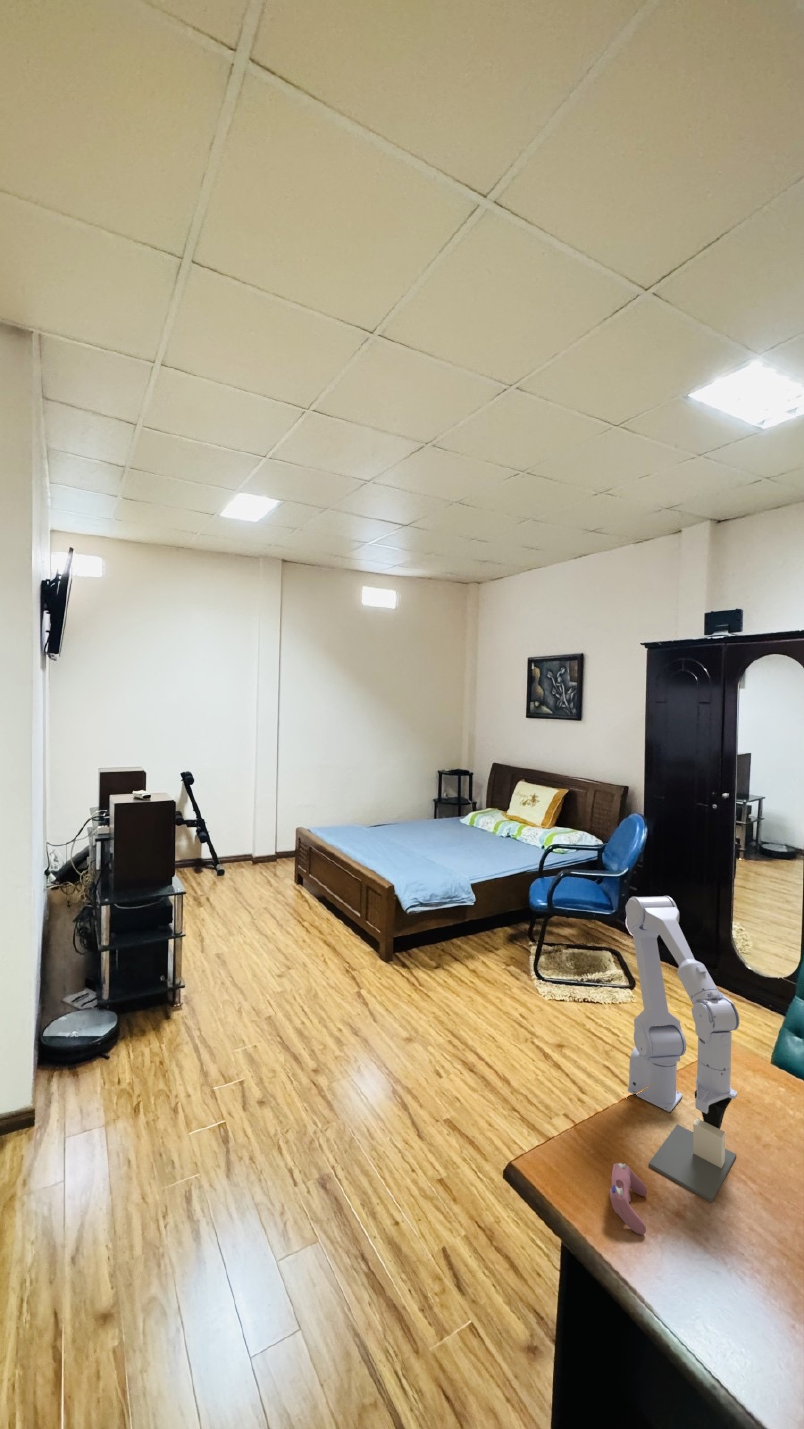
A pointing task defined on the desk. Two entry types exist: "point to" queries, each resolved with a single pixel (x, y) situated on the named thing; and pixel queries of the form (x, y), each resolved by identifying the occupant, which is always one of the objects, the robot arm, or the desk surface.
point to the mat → (690, 1164)
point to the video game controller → (626, 1195)
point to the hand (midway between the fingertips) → (712, 1130)
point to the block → (709, 1142)
